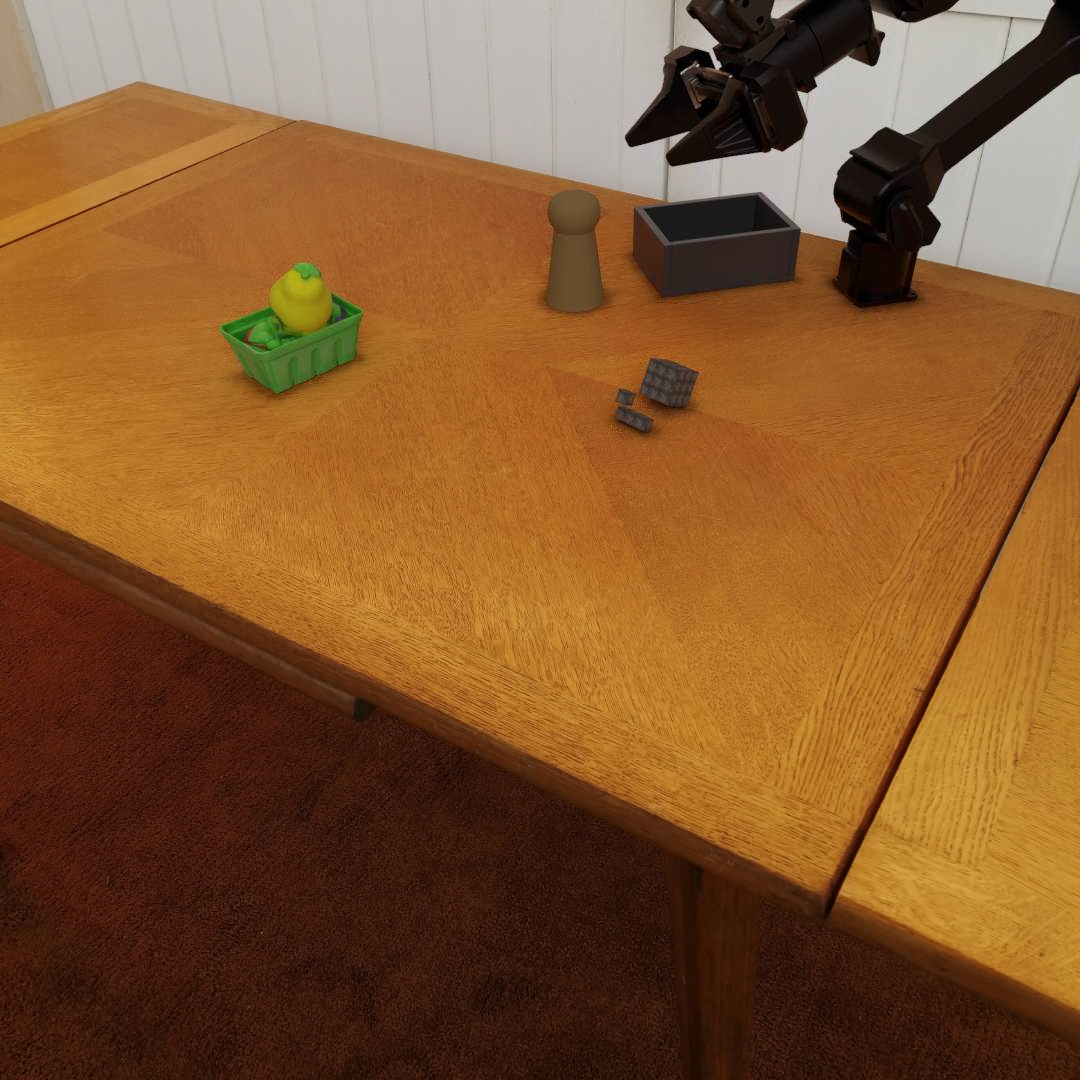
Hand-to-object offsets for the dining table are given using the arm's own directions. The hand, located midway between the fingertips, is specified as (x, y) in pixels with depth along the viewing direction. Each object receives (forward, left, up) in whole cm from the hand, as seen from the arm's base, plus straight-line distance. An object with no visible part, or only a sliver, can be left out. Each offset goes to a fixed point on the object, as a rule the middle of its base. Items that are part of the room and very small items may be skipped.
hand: (646, 151), depth 84 cm
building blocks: (+3, +12, -18) cm, 22 cm away
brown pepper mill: (+4, -11, -18) cm, 22 cm away
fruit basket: (+32, -4, -18) cm, 37 cm away
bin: (-12, -14, -18) cm, 26 cm away
